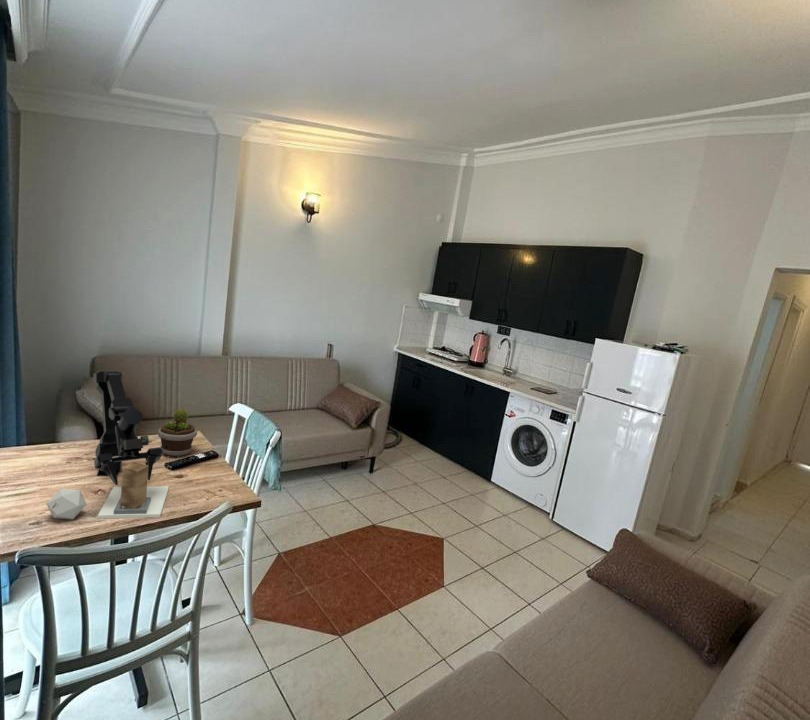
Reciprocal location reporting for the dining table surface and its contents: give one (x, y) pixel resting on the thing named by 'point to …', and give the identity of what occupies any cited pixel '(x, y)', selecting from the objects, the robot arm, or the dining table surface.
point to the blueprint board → (147, 509)
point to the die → (66, 504)
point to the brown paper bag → (134, 485)
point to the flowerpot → (177, 435)
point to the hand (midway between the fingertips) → (133, 482)
